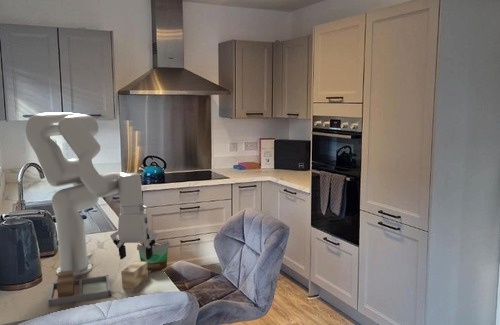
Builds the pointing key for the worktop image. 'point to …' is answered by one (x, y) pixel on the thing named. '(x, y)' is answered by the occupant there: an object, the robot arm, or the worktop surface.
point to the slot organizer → (91, 290)
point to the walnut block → (65, 284)
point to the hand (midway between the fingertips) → (136, 258)
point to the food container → (155, 256)
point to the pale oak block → (134, 274)
